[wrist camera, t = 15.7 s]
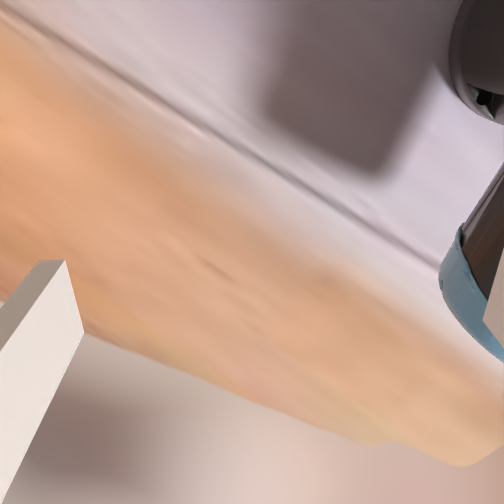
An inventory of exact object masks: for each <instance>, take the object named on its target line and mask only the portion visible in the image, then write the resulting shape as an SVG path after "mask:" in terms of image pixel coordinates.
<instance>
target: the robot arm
mask: <svg viewBox="0 0 504 504" xmlns="http://www.w3.org/2000/svg"><path fill="white" fill-rule="evenodd" d="M449 65H450V72H451V77H452V80H453V84H454V86H455V88H456V90H457V92H458V94H459V96H460V97H461V99H462V100H463V102H464V103H465V104H466V105H467V106H468V107H469V108H470V109H471V110H472V111H474V112H475V113H477V114H478V115H480V116H482V117H484V118H486V119H489V120H491V121H493V122H496V123H498V124H501V125H504V0H465V1H464V2H463V4H462V6H461V8H460V11H459V13H458V15H457V18H456V21H455V24H454V27H453V31H452V35H451V41H450V49H449ZM438 280H439V285H440V289H441V291H442V295H443V298H444V300H445V302H446V304H447V306H448V308H449V309H450V311H451V312H452V314H453V315H454V316H455V318H456V319H457V320H458V322H459V323H460V324H461V325H462V326H463V328H464V329H465V330H466V331H467V332H468V333H469V334H470V335H471V336H472V337H473V338H474V339H475V340H476V341H477V342H478V343H479V344H480V345H482V346H483V347H484V348H485V349H486V350H488V351H489V352H490V353H491V354H492V355H494V356H495V357H496V358H498V359H499V360H500V361H502V362H503V363H504V163H503V164H502V166H501V167H500V169H499V171H498V172H497V174H496V175H495V177H494V178H493V180H492V182H491V183H490V185H489V186H488V188H487V190H486V191H485V193H484V194H483V196H482V197H481V199H480V201H479V202H478V204H477V205H476V207H475V208H474V210H473V211H472V213H471V214H470V216H469V217H468V219H467V220H466V222H465V223H463V224H462V225H461V226H460V227H459V229H458V230H457V232H456V236H455V240H454V242H453V244H452V246H451V248H450V249H449V251H448V253H447V255H446V257H445V258H444V260H443V262H442V264H441V266H440V269H439V276H438ZM83 334H84V330H83V326H82V322H81V319H80V315H79V311H78V307H77V304H76V300H75V296H74V292H73V288H72V285H71V281H70V277H69V273H68V270H67V266H66V262H65V260H45V261H38V263H37V264H36V265H35V266H34V268H33V269H32V270H31V271H30V273H29V274H28V275H27V276H26V278H25V279H24V280H23V281H22V283H21V284H20V285H19V286H18V287H17V289H16V290H15V291H14V292H13V294H12V295H11V296H10V297H9V299H8V300H7V301H6V302H5V304H4V305H3V306H2V307H1V309H0V504H1V503H2V501H3V498H4V496H5V494H6V492H7V490H8V488H9V486H10V484H11V482H12V480H13V478H14V476H15V474H16V472H17V470H18V468H19V466H20V464H21V461H22V459H23V457H24V455H25V453H26V451H27V449H28V447H29V445H30V443H31V441H32V438H33V436H34V435H35V433H36V431H37V429H38V427H39V425H40V423H41V420H42V418H43V416H44V414H45V412H46V410H47V408H48V406H49V404H50V402H51V400H52V398H53V396H54V394H55V391H56V390H57V388H58V385H59V383H60V381H61V379H62V377H63V375H64V373H65V371H66V369H67V367H68V365H69V363H70V361H71V359H72V357H73V355H74V352H75V351H76V349H77V346H78V344H79V342H80V340H81V338H82V336H83Z"/></svg>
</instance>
